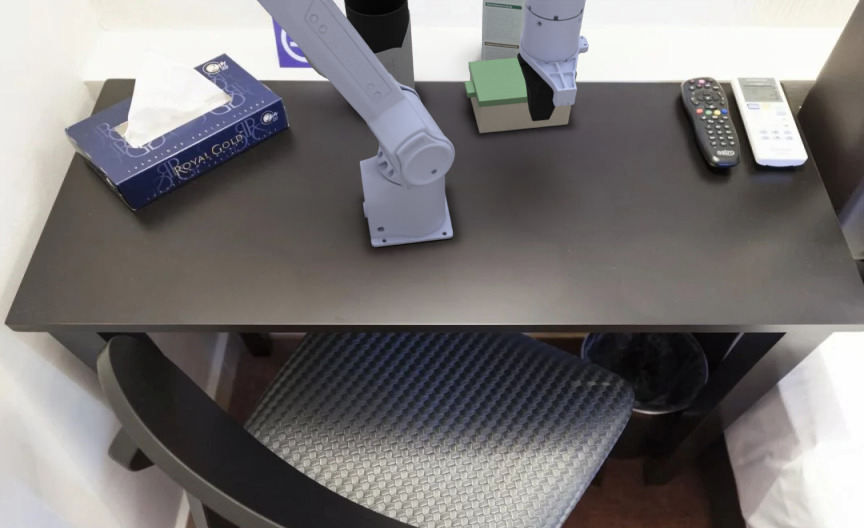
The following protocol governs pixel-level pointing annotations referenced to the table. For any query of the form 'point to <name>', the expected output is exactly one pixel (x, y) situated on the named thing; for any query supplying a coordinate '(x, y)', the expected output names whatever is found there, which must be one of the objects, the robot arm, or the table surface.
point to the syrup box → (501, 28)
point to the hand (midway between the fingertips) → (539, 116)
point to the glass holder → (384, 35)
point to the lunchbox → (504, 97)
